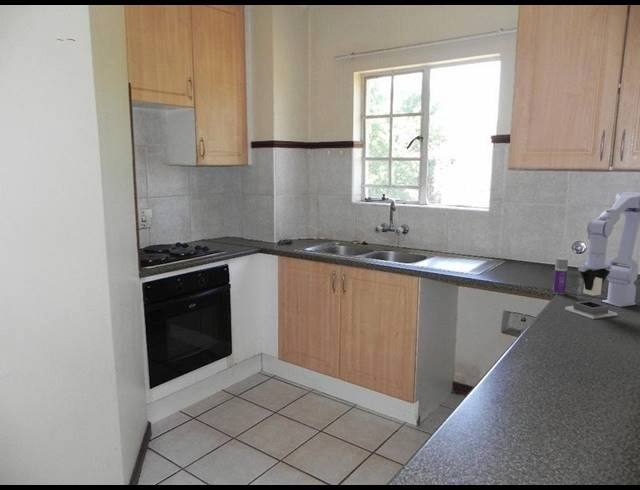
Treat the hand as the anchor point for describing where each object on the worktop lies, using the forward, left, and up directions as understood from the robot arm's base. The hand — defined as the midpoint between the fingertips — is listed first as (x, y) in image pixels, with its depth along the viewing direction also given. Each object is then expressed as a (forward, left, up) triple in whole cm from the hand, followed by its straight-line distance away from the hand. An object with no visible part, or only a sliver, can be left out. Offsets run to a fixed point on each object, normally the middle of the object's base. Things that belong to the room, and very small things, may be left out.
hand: (592, 289), depth 173 cm
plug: (0, 0, -2) cm, 2 cm away
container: (-12, -25, -9) cm, 29 cm away
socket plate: (0, 0, -9) cm, 9 cm away
